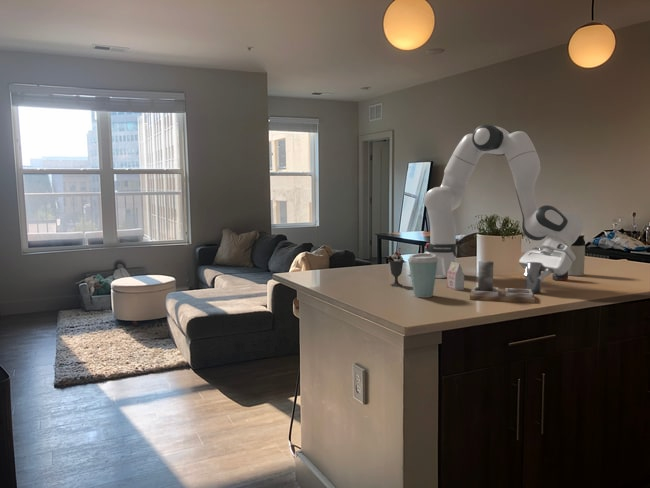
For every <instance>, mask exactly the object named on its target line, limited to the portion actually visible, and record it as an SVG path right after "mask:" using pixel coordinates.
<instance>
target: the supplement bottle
mask: <svg viewBox="0 0 650 488" xmlns="http://www.w3.org/2000/svg"><path fill="white" fill-rule="evenodd" d="M551 274H552V280H554V281H559V282H562V281H563V282H564V281H565V282H566V281H567V280H569V275H568V271H567V272H566V273H565V274H563V275H560V274H555V273H551Z"/></svg>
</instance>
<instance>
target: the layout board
mask: <svg viewBox="0 0 650 488" xmlns="http://www.w3.org/2000/svg"><path fill="white" fill-rule="evenodd" d="M477 270H478V279H477V283H478V284H477V286H473V287H472V289H470V294H469V300H471V301H472V300H473V301H485V302H486V301H492V302H506V303H507V302H509V303H522V302H523V304H524V303H525V304H526V303H527V304H536V297H535V294H533V292H532V290H531V289H526V288H511V287H510V288H508V287H505V288H504V290H501V289H500V290H499V287H494V261H491V260H490V261H489V260H481V261H478V269H477Z"/></svg>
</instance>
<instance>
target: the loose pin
mask: <svg viewBox="0 0 650 488" xmlns="http://www.w3.org/2000/svg"><path fill="white" fill-rule="evenodd" d="M541 265H542V263H540V262H527V275H526V277H525V279H526V281H525V282H526V283H525V284H526V285H525V289H531V290H532V292H533V294H534V295H539V293H540V294H541V293H542V292H541V291H542V289H541V288H542V281H540V280H538V279H537V276H538V275H539V274H542V271H541Z"/></svg>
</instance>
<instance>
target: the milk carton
mask: <svg viewBox="0 0 650 488" xmlns="http://www.w3.org/2000/svg"><path fill="white" fill-rule="evenodd" d="M446 288H448V289H451V290H454V291H462V290H463V291H464V289H465V273H464V271H463V269H462V266H461V263H459V262H457V263H455V262H451V264H450V266H449V269H448V271H447V277H446Z"/></svg>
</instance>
